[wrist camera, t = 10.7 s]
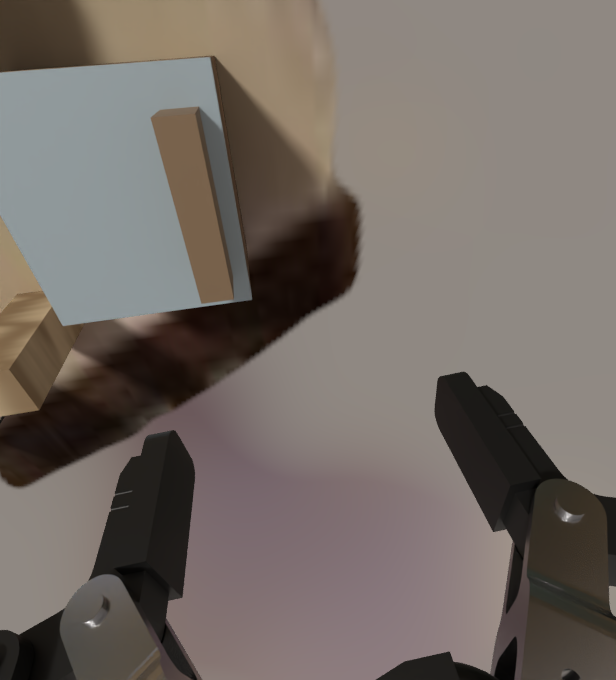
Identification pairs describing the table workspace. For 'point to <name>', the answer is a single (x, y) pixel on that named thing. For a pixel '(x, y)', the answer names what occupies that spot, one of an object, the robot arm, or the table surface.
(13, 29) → the table surface
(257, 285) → the table surface
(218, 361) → the table surface
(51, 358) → the tan tall block
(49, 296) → the lid
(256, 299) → the table surface
